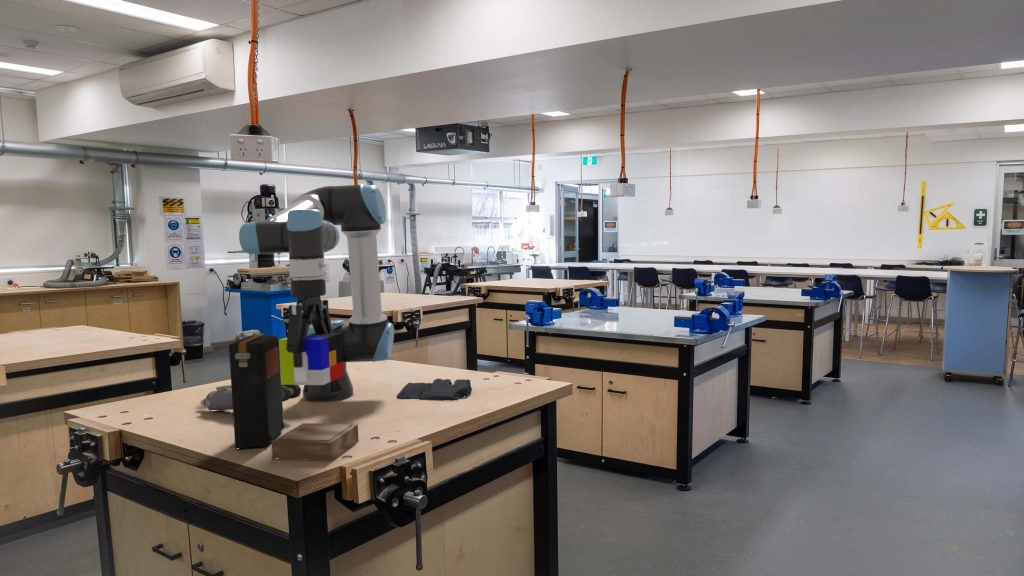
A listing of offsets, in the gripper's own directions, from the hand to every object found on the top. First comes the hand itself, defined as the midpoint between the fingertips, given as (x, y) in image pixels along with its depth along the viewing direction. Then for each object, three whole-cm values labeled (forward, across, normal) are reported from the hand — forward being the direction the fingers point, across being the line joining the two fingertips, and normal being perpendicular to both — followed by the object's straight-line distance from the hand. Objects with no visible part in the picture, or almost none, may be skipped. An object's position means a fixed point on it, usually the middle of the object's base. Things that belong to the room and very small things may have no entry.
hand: (313, 376), depth 144 cm
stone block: (+17, +58, +52) cm, 80 cm away
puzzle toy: (+1, 0, 0) cm, 1 cm away
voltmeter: (+17, +6, +18) cm, 26 cm away
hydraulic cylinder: (+17, +28, +35) cm, 48 cm away
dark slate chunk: (+18, +54, -11) cm, 58 cm away
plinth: (+17, 0, 0) cm, 17 cm away
